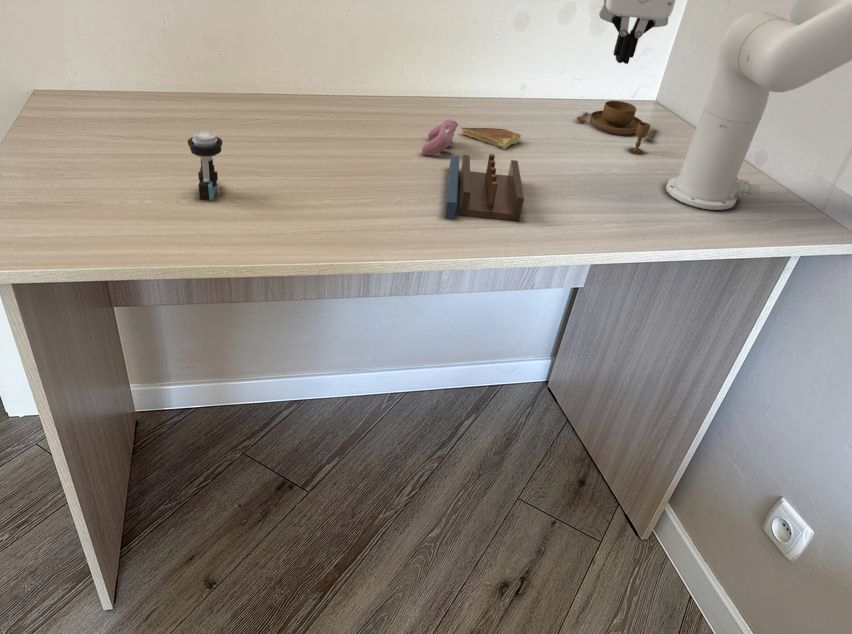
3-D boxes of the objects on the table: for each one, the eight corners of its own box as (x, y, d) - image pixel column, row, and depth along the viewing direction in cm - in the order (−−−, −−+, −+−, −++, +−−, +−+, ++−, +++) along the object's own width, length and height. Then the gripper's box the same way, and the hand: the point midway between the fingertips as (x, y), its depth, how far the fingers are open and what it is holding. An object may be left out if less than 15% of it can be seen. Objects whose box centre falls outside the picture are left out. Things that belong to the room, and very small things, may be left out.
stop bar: (457, 171, 130) (459, 156, 128) (454, 219, 114) (456, 202, 112) (448, 170, 130) (451, 155, 128) (444, 218, 114) (446, 201, 112)
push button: (197, 182, 117) (191, 125, 111) (229, 184, 117) (225, 127, 111) (190, 200, 112) (184, 140, 106) (223, 201, 112) (219, 142, 106)
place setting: (658, 128, 158) (667, 102, 155) (644, 155, 144) (652, 128, 140) (584, 111, 164) (590, 86, 160) (562, 136, 149) (569, 109, 145)
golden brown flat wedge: (460, 134, 145) (461, 126, 144) (479, 126, 150) (481, 118, 149) (503, 150, 140) (505, 141, 139) (522, 141, 145) (524, 133, 144)
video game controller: (438, 166, 135) (458, 137, 130) (418, 152, 134) (438, 123, 130) (444, 148, 142) (464, 120, 138) (426, 135, 142) (445, 107, 137)
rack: (513, 182, 128) (519, 153, 124) (519, 221, 115) (525, 191, 112) (459, 176, 128) (464, 147, 125) (460, 214, 115) (464, 184, 112)
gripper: (610, -70, 99) (578, 62, 110) (714, -59, 99) (672, 72, 110) (603, -76, 105) (573, 50, 116) (701, -66, 105) (662, 60, 116)
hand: (621, 61), depth 113 cm, fingers closed
